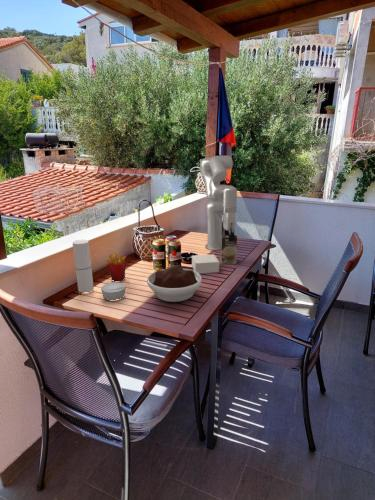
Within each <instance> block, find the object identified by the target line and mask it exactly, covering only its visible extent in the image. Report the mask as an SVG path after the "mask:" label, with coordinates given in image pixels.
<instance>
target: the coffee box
mask: <svg viewBox="0 0 375 500" xmlns="http://www.w3.org/2000/svg"><path fill="white" fill-rule="evenodd" d="M237 249H238V236H237V235H235V238H234V241H229V235H225V234H222V239H221V250H220V264H221V265H236V264H237V255H238V254H237V253H238V252H237V251H238V250H237Z"/></svg>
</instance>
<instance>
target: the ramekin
mask: <svg viewBox="0 0 375 500" xmlns="http://www.w3.org/2000/svg"><path fill="white" fill-rule="evenodd" d="M126 288H127V287H126V284H124V283H123V282H113V281H112V282H108V283H106V284H102V286H101V288H100V291H101V293H102V296H103V299H104V298H105V299H108V300H116V299H120V298H122V297H123V296H124V295H126ZM124 297H125V296H124ZM124 297H123V298H124ZM123 298H122V299H123ZM105 299H104V300H105Z"/></svg>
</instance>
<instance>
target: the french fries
mask: <svg viewBox="0 0 375 500" xmlns="http://www.w3.org/2000/svg"><path fill="white" fill-rule="evenodd" d="M108 257H109V259H108V258H106V262H107V265H108V269H109V274H110V278H111V281H112V280H114V281H122V280H123V279H124V278H125V279H126V264H127V263H126V260H125V259H126V258H127V255H124V256H123V254H121V255H119V254H118V253H113V256H112V253H109V256H108ZM117 257H118V258H117ZM125 279H124V280H125ZM124 280H123V281H124ZM123 281H122V282H123Z"/></svg>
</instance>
